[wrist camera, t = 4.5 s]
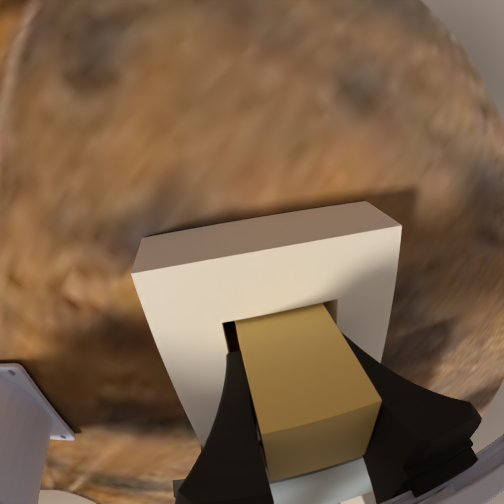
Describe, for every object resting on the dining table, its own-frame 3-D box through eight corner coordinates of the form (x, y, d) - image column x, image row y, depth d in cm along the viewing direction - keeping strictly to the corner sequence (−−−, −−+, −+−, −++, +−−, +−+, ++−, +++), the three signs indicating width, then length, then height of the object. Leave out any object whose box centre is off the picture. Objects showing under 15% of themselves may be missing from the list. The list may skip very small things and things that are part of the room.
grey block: (202, 460, 22) (211, 531, 16) (170, 400, 18) (173, 496, 12) (357, 425, 23) (386, 487, 17) (373, 355, 19) (421, 433, 13)
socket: (200, 410, 19) (203, 449, 16) (142, 238, 13) (131, 273, 10) (350, 377, 20) (368, 410, 17) (366, 200, 14) (402, 225, 11)
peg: (240, 354, 15) (270, 481, 9) (229, 296, 14) (261, 434, 8) (309, 340, 16) (364, 454, 9) (308, 281, 14) (381, 400, 8)
